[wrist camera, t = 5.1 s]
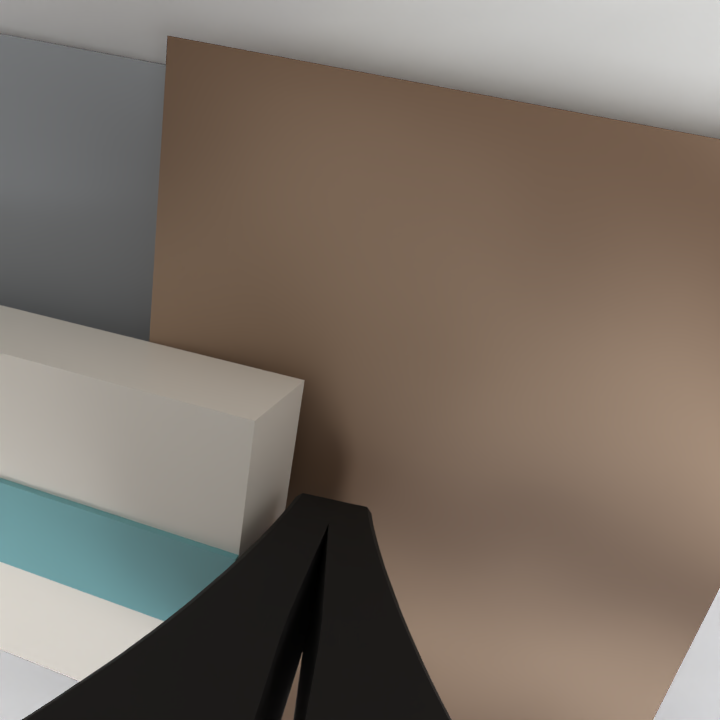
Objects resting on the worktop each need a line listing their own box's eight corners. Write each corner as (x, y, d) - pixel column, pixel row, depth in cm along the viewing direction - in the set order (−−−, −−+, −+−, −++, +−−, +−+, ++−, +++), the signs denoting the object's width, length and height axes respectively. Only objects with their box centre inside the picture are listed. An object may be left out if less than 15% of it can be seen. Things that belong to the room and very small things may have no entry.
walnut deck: (557, 760, 13) (586, 851, 11) (164, 671, 13) (125, 744, 11) (808, 192, 9) (926, 178, 7) (216, 80, 9) (167, 35, 7)
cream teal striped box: (304, 380, 8) (251, 423, 6) (265, 639, 9) (213, 743, 7) (-94, 281, 9) (-245, 289, 7) (-69, 521, 11) (-186, 581, 9)
